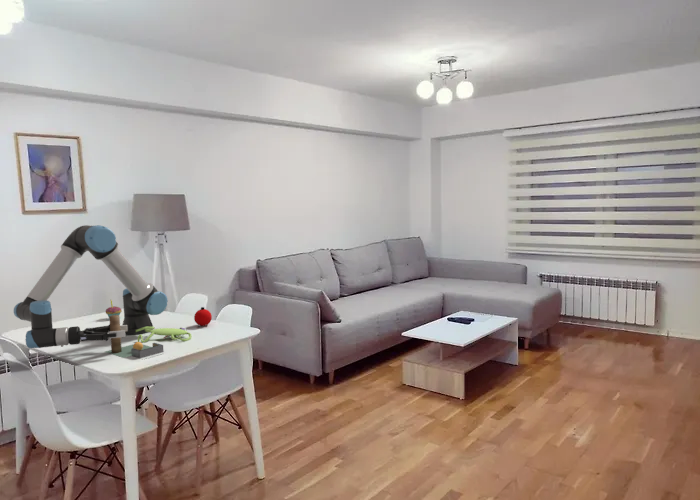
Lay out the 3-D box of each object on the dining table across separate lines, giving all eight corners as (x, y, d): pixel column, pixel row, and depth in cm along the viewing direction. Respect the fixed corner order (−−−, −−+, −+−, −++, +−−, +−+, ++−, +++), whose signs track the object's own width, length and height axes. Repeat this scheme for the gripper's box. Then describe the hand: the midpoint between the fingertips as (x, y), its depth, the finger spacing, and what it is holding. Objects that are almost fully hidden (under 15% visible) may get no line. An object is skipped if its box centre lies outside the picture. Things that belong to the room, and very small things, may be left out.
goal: (131, 357, 216) (131, 348, 215) (154, 351, 224) (154, 342, 224) (140, 360, 212) (139, 351, 211) (163, 353, 221) (163, 344, 220)
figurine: (137, 336, 253) (136, 325, 252) (193, 332, 259) (192, 321, 258) (130, 346, 235) (130, 334, 234) (191, 341, 241) (190, 330, 240)
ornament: (209, 327, 266) (208, 308, 265) (192, 327, 266) (191, 309, 266) (214, 323, 275) (213, 305, 274) (197, 323, 275) (196, 305, 275)
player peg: (109, 352, 221) (107, 316, 220) (118, 350, 224) (116, 314, 223) (114, 353, 219) (112, 317, 217) (123, 351, 222) (121, 315, 220)
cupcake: (117, 320, 287) (116, 299, 286) (102, 320, 288) (101, 299, 287) (124, 316, 296) (123, 296, 295) (110, 317, 296) (108, 296, 295)
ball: (131, 351, 222) (130, 342, 221) (139, 349, 225) (139, 340, 225) (136, 352, 219) (136, 343, 219) (145, 350, 223) (144, 341, 222)
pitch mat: (104, 354, 222) (103, 351, 222) (137, 345, 235) (137, 343, 235) (124, 360, 213) (123, 357, 213) (158, 350, 226) (157, 348, 225)
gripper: (74, 338, 226) (128, 333, 233) (64, 351, 205) (124, 345, 212) (73, 321, 225) (127, 317, 232) (62, 333, 204) (123, 328, 211)
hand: (126, 330), depth 222 cm, fingers open, 10 cm apart
